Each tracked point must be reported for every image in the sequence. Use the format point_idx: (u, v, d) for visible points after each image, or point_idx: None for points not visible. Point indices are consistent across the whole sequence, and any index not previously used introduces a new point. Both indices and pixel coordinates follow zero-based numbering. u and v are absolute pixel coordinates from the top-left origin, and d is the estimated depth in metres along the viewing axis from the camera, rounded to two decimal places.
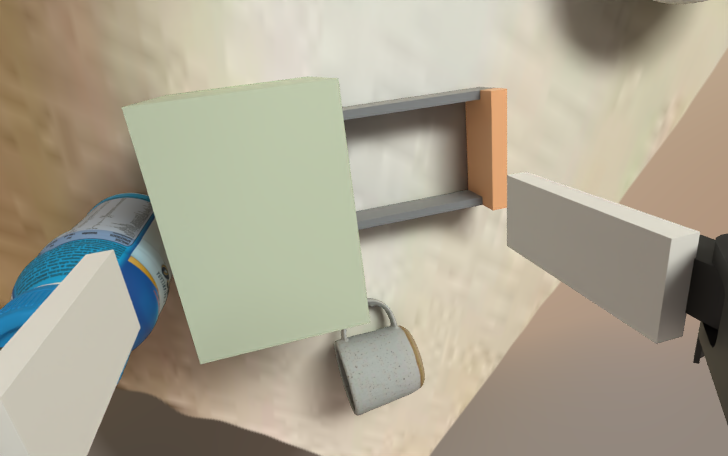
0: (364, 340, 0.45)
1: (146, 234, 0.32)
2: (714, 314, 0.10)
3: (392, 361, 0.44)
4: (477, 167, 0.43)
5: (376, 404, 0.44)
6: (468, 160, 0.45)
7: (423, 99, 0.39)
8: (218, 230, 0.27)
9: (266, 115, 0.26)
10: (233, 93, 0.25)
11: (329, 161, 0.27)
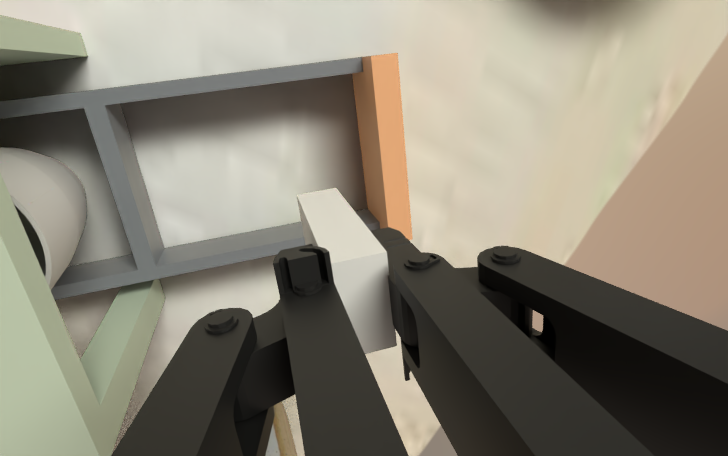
0: None
1: None
2: (410, 334, 0.10)
3: None
4: (371, 178, 0.29)
5: None
6: (363, 166, 0.30)
7: (266, 70, 0.24)
8: None
9: None
10: None
11: None
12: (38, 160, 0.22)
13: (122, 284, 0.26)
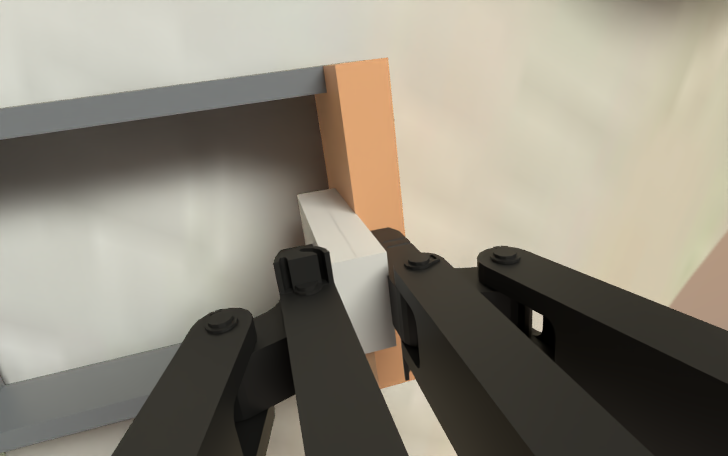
0: None
1: None
2: (410, 334, 0.10)
3: None
4: None
5: None
6: None
7: (137, 93, 0.13)
8: None
9: None
10: None
11: None
12: None
13: None
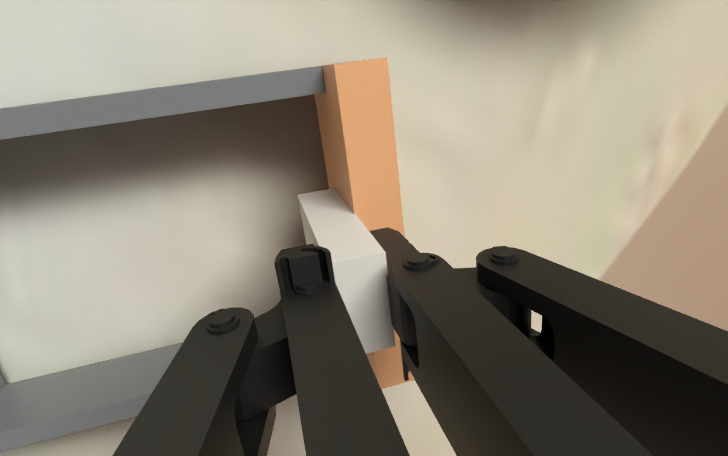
0: None
1: None
2: (409, 334, 0.10)
3: None
4: None
5: None
6: None
7: (136, 93, 0.13)
8: None
9: None
10: None
11: None
12: None
13: None
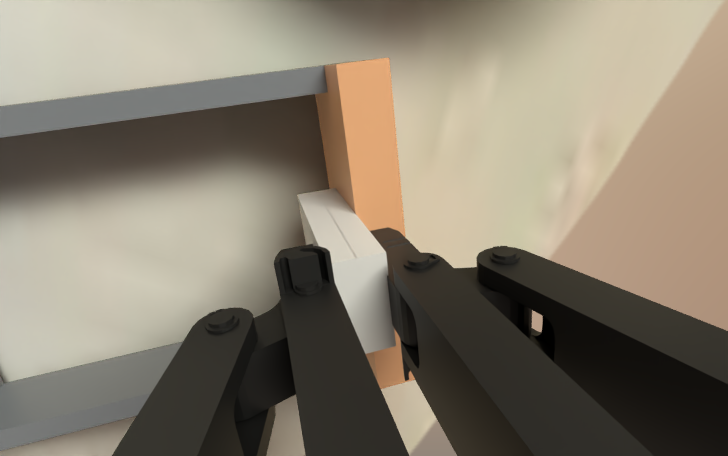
0: None
1: None
2: (409, 334, 0.10)
3: None
4: None
5: None
6: None
7: (138, 92, 0.13)
8: None
9: None
10: None
11: None
12: None
13: None
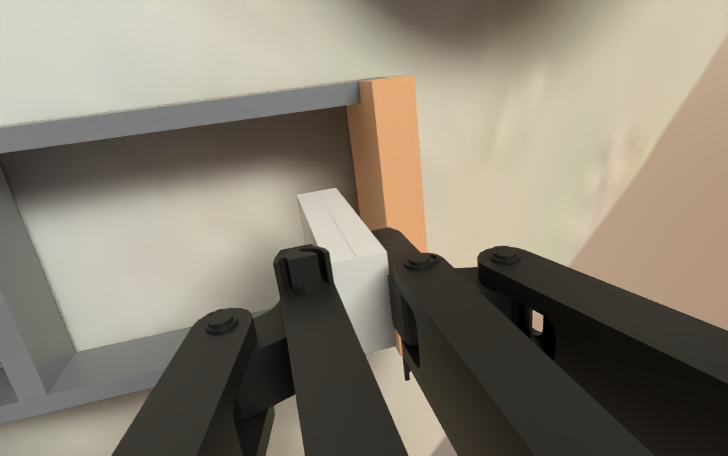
0: None
1: None
2: (410, 334, 0.10)
3: None
4: None
5: None
6: None
7: (208, 103, 0.16)
8: None
9: None
10: None
11: None
12: None
13: None
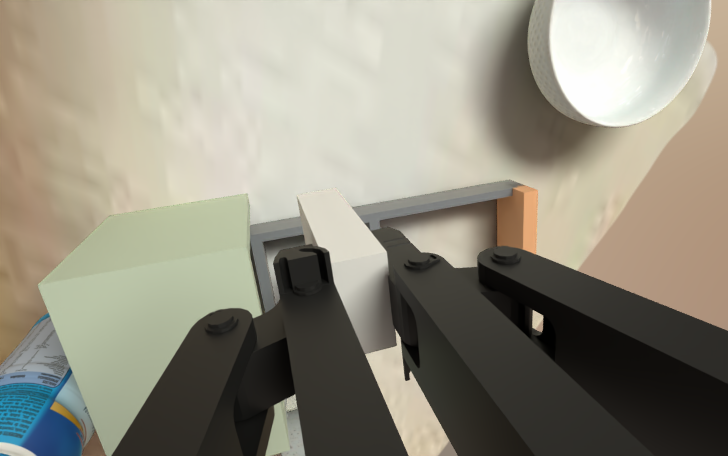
0: None
1: None
2: (410, 334, 0.10)
3: None
4: None
5: None
6: (498, 243, 0.49)
7: (461, 197, 0.43)
8: (135, 381, 0.29)
9: (178, 282, 0.28)
10: (145, 266, 0.27)
11: None
12: None
13: None
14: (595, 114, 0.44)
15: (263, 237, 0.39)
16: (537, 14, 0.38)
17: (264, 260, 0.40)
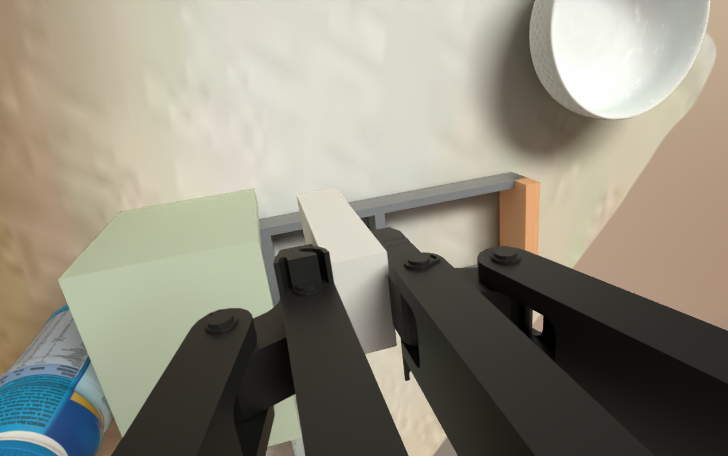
0: None
1: None
2: (410, 334, 0.10)
3: None
4: (509, 244, 0.48)
5: None
6: (500, 234, 0.50)
7: (465, 190, 0.44)
8: (152, 371, 0.30)
9: (192, 275, 0.28)
10: (161, 260, 0.28)
11: (254, 308, 0.30)
12: None
13: None
14: (596, 106, 0.44)
15: (271, 231, 0.40)
16: (539, 8, 0.38)
17: (272, 253, 0.41)
